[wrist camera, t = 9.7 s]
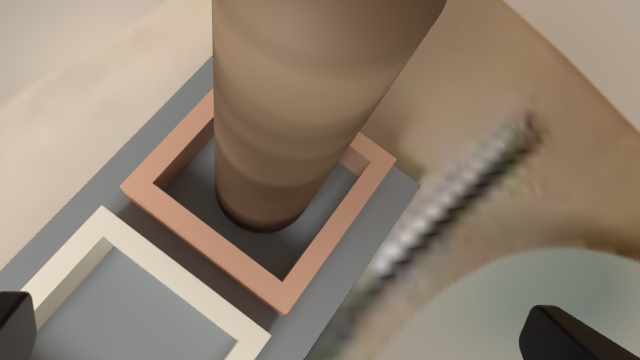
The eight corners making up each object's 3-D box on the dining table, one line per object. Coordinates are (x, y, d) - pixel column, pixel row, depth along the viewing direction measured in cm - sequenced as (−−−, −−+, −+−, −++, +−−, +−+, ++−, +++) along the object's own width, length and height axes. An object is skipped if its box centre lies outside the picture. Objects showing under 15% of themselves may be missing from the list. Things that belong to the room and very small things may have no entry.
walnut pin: (298, 243, 21) (436, 87, 8) (203, 220, 20) (178, 12, 7) (318, 155, 22) (463, -105, 9) (229, 132, 22) (246, -178, 9)
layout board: (106, 644, 17) (83, 705, 14) (-150, 439, 17) (-223, 459, 14) (412, 191, 24) (438, 171, 21) (227, 52, 24) (228, 14, 21)
